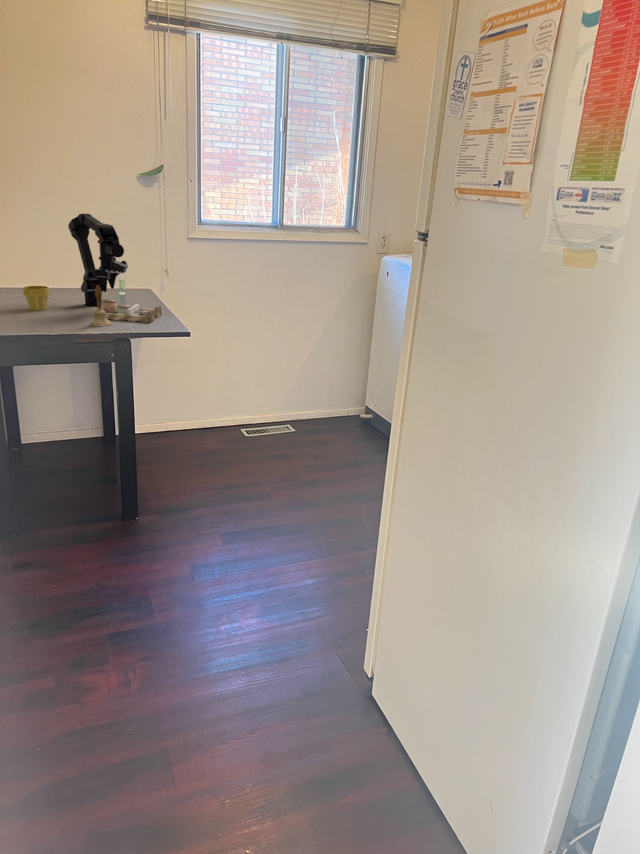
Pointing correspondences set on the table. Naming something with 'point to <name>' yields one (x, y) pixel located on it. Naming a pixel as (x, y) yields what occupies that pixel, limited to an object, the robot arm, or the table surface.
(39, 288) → the plant pot
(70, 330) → the table surface
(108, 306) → the jar
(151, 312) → the lane
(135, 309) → the peg stand
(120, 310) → the stock jar
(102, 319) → the hand bell
